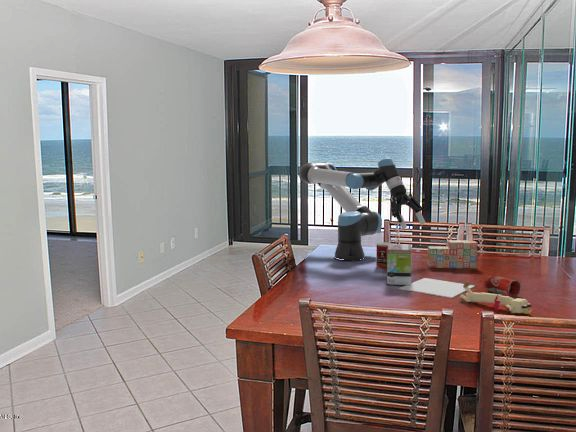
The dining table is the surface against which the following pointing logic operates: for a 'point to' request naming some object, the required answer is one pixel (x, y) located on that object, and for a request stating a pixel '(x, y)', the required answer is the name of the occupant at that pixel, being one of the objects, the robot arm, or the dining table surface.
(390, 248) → the tea box
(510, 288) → the beverage can
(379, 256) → the canned food
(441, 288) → the mat
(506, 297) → the cat figure
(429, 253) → the stack of blocks
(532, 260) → the dining table surface
